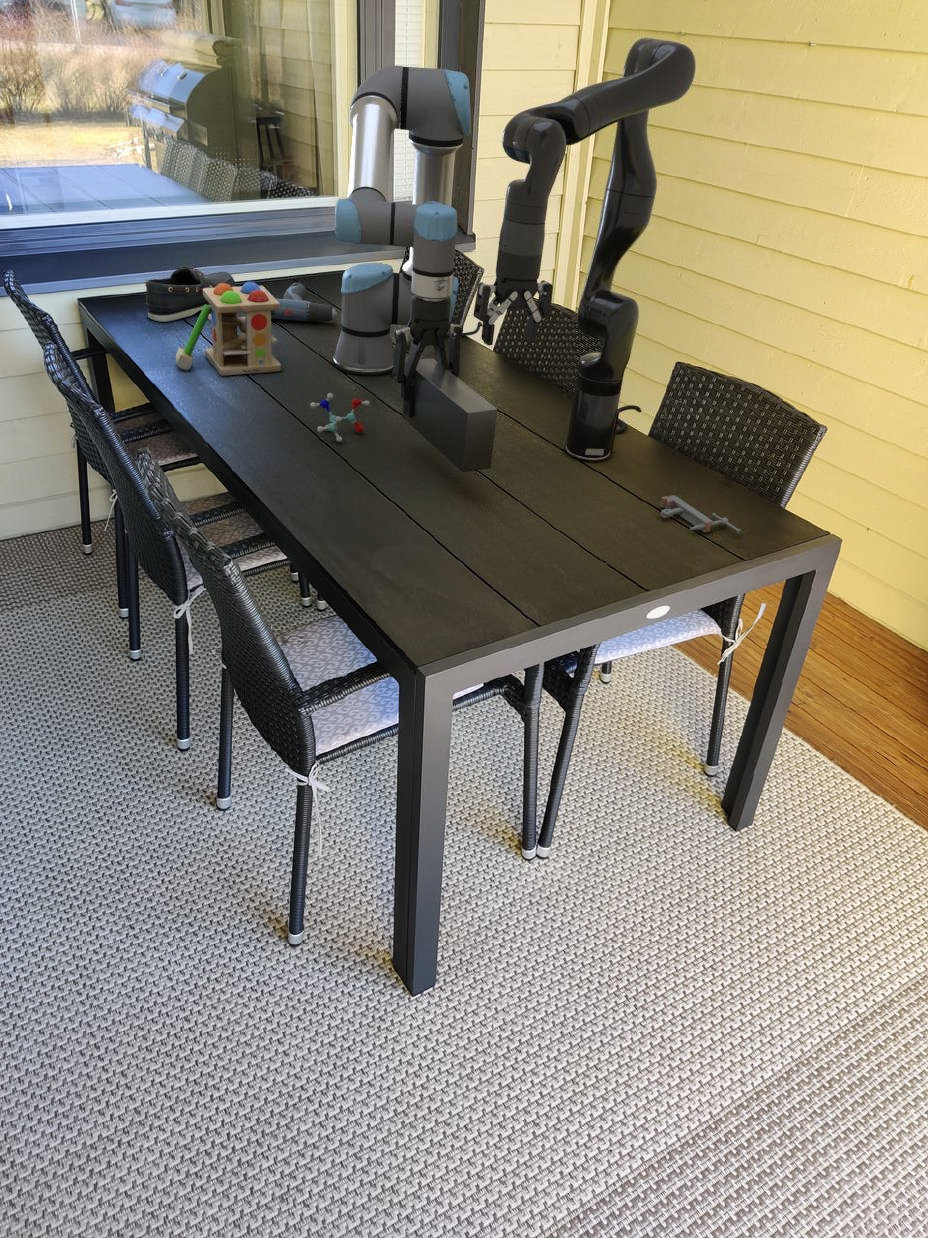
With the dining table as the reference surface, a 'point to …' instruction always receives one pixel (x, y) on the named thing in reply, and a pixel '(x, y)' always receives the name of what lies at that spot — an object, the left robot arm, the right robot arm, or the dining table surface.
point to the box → (452, 417)
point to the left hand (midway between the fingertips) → (423, 412)
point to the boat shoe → (181, 293)
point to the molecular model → (335, 420)
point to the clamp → (672, 508)
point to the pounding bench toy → (229, 347)
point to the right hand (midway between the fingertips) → (508, 342)
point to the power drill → (301, 307)
